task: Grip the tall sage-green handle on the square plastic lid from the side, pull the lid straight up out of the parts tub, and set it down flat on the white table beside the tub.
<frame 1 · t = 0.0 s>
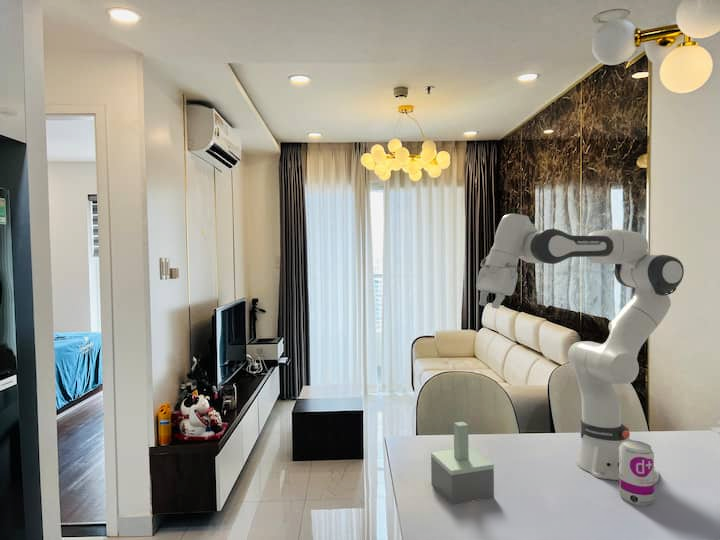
hand: (488, 306, 143), 52 cm above the table, tool tilted 20°, fingers open, 8 cm apart
tub: (461, 489, 135), on the table
lid: (461, 467, 135), point 6 cm above the table, touching tub
supplement can: (636, 499, 129), on the table
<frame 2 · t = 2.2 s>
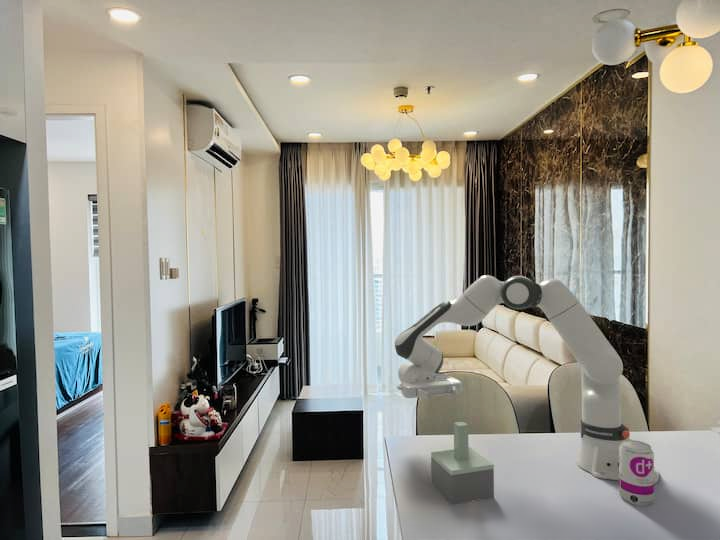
hand: (441, 394, 146), 24 cm above the table, tool horizontal, fingers open, 8 cm apart
nothing on the table moved.
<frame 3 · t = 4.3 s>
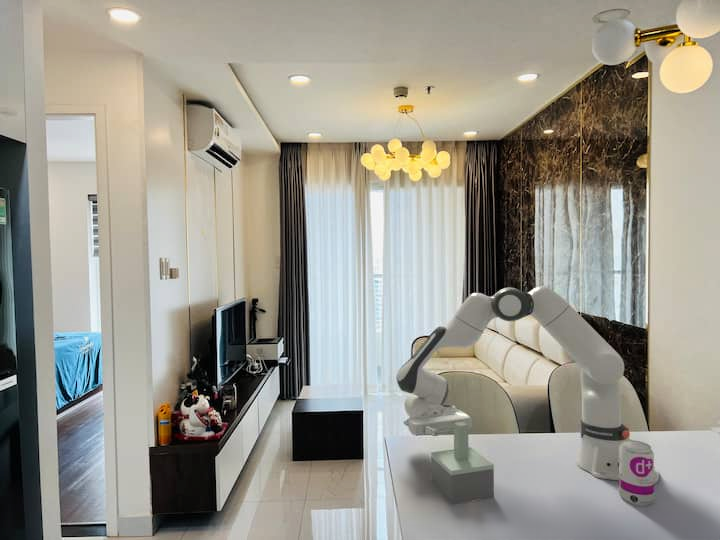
hand: (450, 431, 142), 15 cm above the table, tool horizontal, fingers open, 8 cm apart
nothing on the table moved.
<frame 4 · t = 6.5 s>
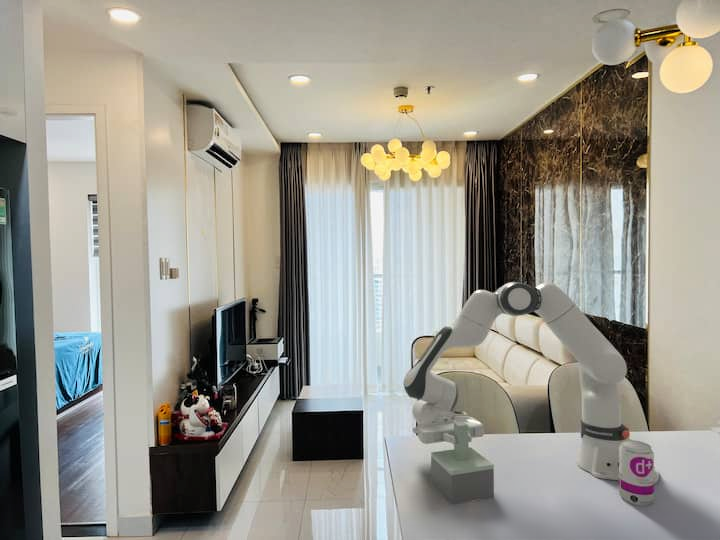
hand: (462, 440, 134), 15 cm above the table, tool horizontal, fingers closed on lid, 3 cm apart
lid: (461, 467, 135), point 6 cm above the table, touching gripper, tub
everything else where it was.
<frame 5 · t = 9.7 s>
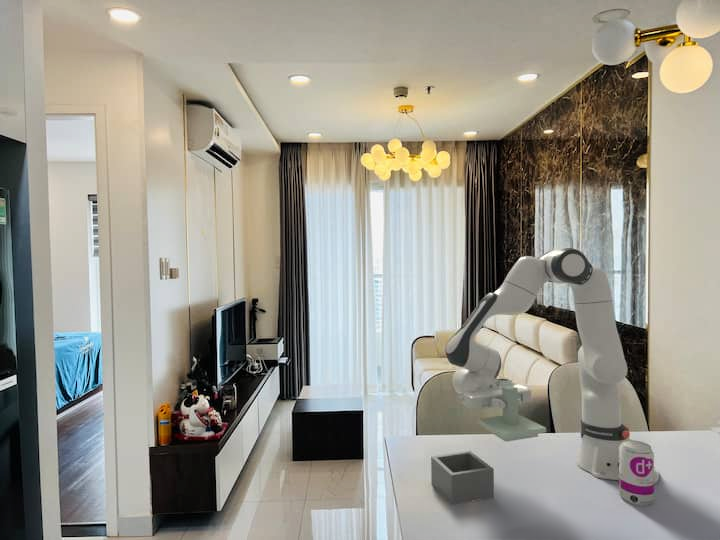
hand: (512, 404, 129), 26 cm above the table, tool horizontal, fingers closed on lid, 3 cm apart
lid: (511, 432, 130), point 18 cm above the table, touching gripper
everything else where it was.
when the fingers open (10 cm above the table, at t = 13.0 s): lid drops 2 cm, on the table.
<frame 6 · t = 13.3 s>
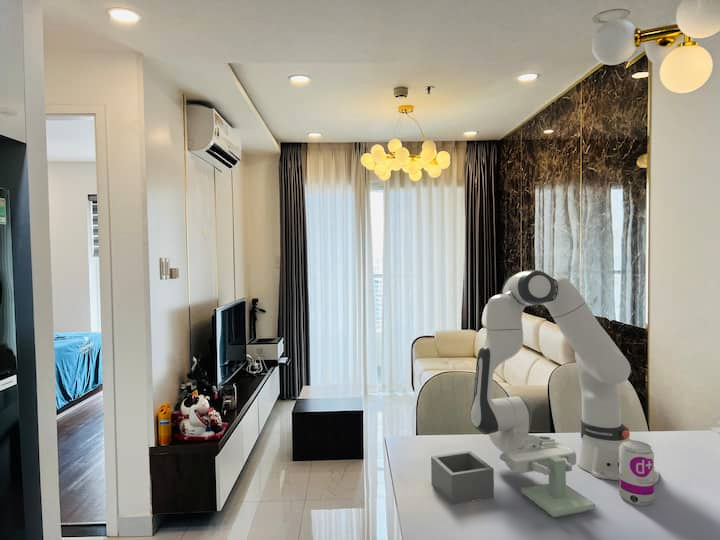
hand: (559, 470, 125), 10 cm above the table, tool horizontal, fingers open, 5 cm apart
lid: (557, 505, 126), on the table
everything else where it was.
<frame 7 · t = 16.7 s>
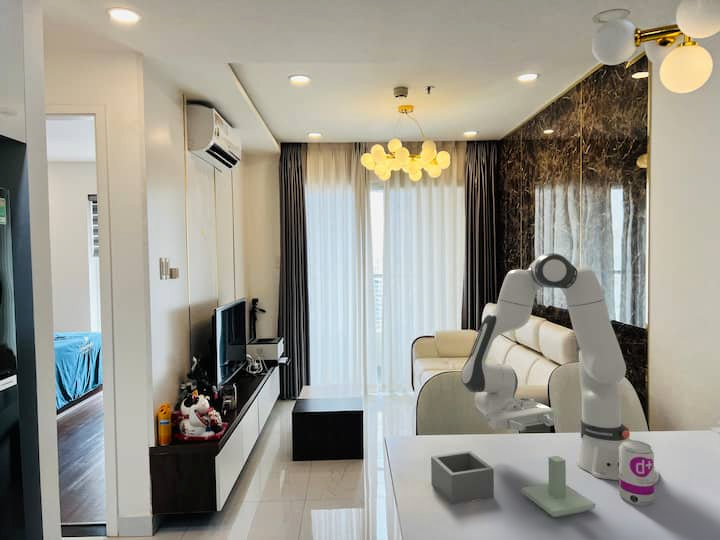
hand: (537, 425, 135), 19 cm above the table, tool horizontal, fingers open, 8 cm apart
nothing on the table moved.
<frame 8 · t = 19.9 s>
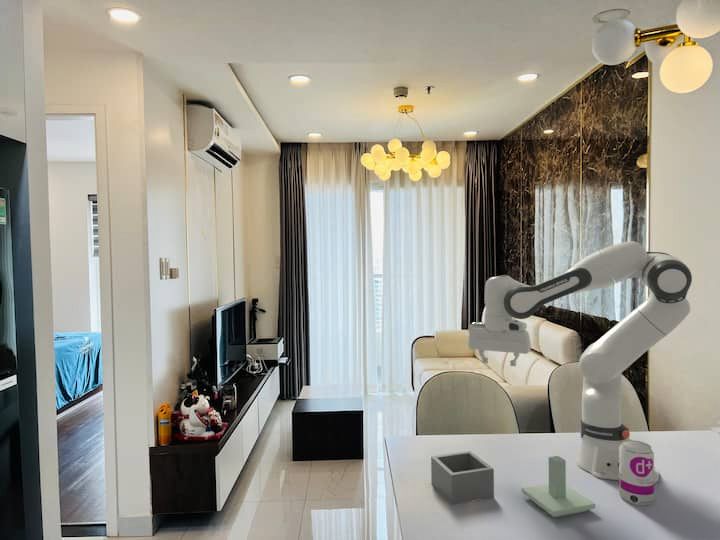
hand: (498, 364, 158), 31 cm above the table, tool pointing down, fingers open, 8 cm apart
nothing on the table moved.
at the end: lid inside the target area (0.0 cm from its centre), on the table; lid touching table; lid tilted 0° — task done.
